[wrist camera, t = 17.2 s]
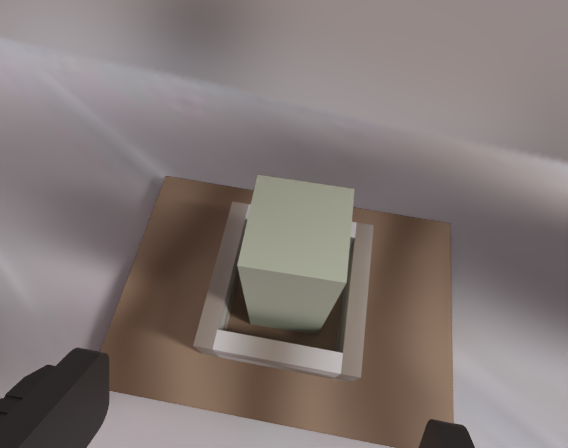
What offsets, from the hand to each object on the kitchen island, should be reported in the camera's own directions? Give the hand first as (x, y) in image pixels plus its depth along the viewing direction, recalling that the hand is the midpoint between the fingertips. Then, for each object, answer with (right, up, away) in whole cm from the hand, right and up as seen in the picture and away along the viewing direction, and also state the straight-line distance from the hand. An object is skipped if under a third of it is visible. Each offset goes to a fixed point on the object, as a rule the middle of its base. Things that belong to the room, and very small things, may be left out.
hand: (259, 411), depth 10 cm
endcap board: (+1, 0, +15) cm, 15 cm away
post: (+1, 0, +14) cm, 14 cm away
